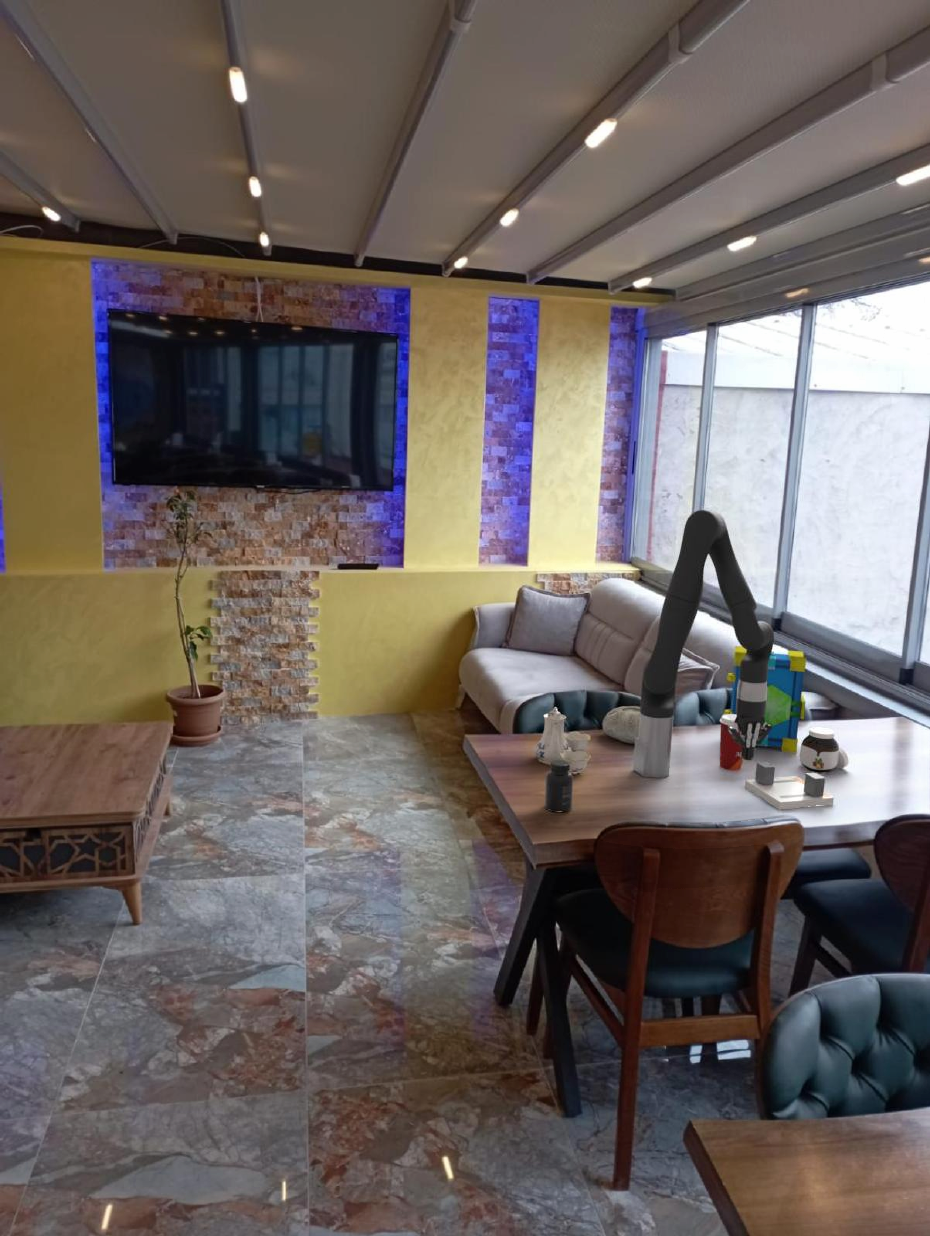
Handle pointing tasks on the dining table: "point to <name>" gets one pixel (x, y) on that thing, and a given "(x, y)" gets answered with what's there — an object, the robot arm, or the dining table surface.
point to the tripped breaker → (765, 773)
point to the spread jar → (822, 751)
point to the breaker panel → (787, 793)
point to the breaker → (814, 784)
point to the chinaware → (562, 743)
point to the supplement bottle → (559, 786)
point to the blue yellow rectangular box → (778, 697)
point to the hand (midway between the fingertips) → (747, 759)
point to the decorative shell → (623, 723)
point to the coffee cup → (729, 745)
